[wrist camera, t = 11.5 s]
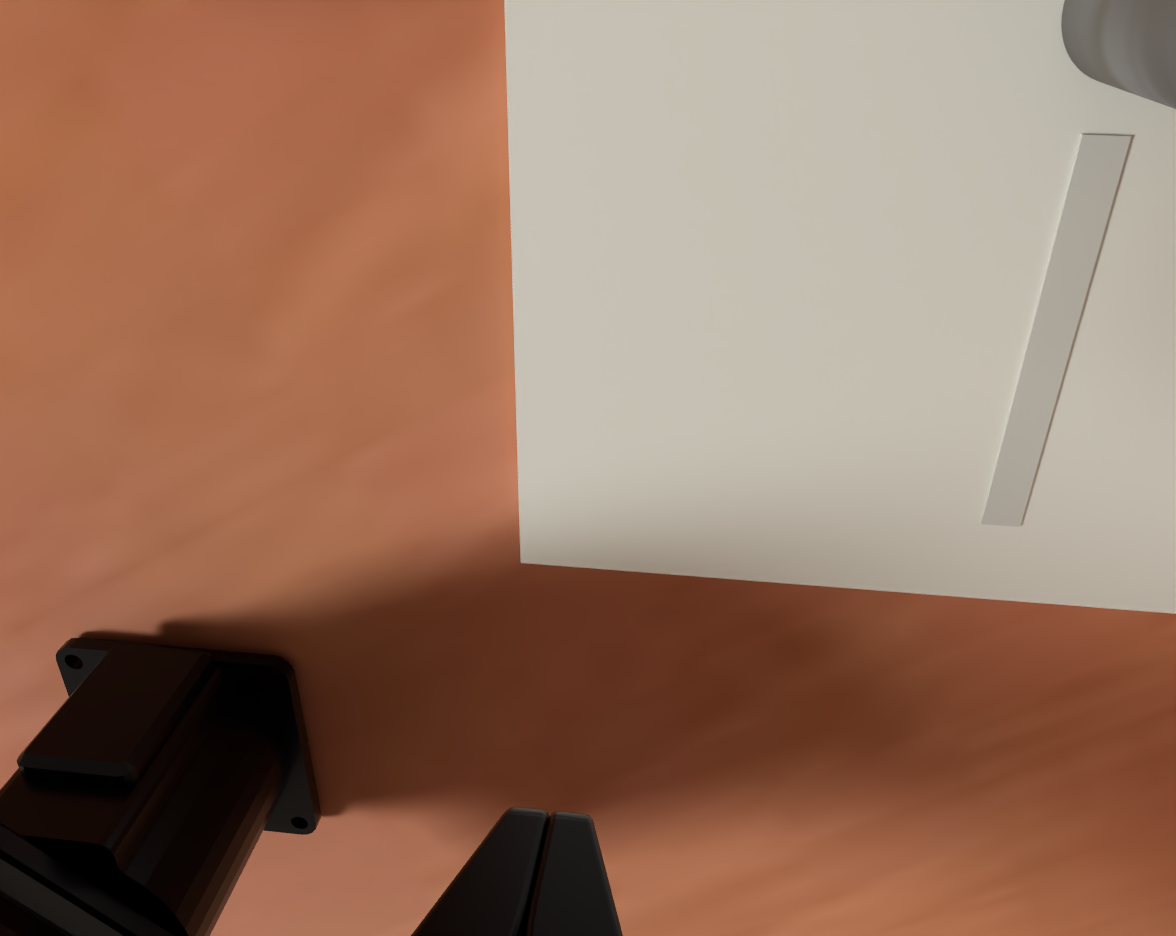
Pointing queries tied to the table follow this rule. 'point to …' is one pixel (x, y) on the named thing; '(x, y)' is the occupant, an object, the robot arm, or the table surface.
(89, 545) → the table surface
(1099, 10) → the fence section
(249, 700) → the robot arm
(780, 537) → the card
